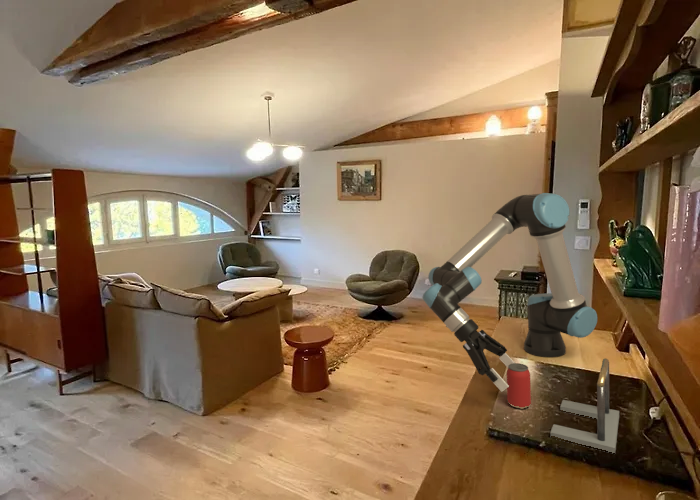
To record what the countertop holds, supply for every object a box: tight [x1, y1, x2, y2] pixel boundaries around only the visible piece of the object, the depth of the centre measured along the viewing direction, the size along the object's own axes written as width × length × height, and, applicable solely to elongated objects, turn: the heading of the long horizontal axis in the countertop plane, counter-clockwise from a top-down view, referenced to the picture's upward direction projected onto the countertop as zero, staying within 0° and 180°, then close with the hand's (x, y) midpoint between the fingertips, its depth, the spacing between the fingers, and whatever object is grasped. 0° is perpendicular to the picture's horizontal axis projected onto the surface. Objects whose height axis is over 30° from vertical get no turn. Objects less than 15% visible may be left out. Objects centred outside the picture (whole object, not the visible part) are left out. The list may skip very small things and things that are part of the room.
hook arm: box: [596, 358, 610, 441], centre depth 106 cm, size 17×2×17 cm, turn 144°
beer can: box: [506, 362, 532, 407], centre depth 122 cm, size 7×7×12 cm
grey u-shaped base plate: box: [549, 399, 620, 454], centre depth 109 cm, size 20×14×2 cm
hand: (511, 380), depth 122 cm, fingers open, 13 cm apart
